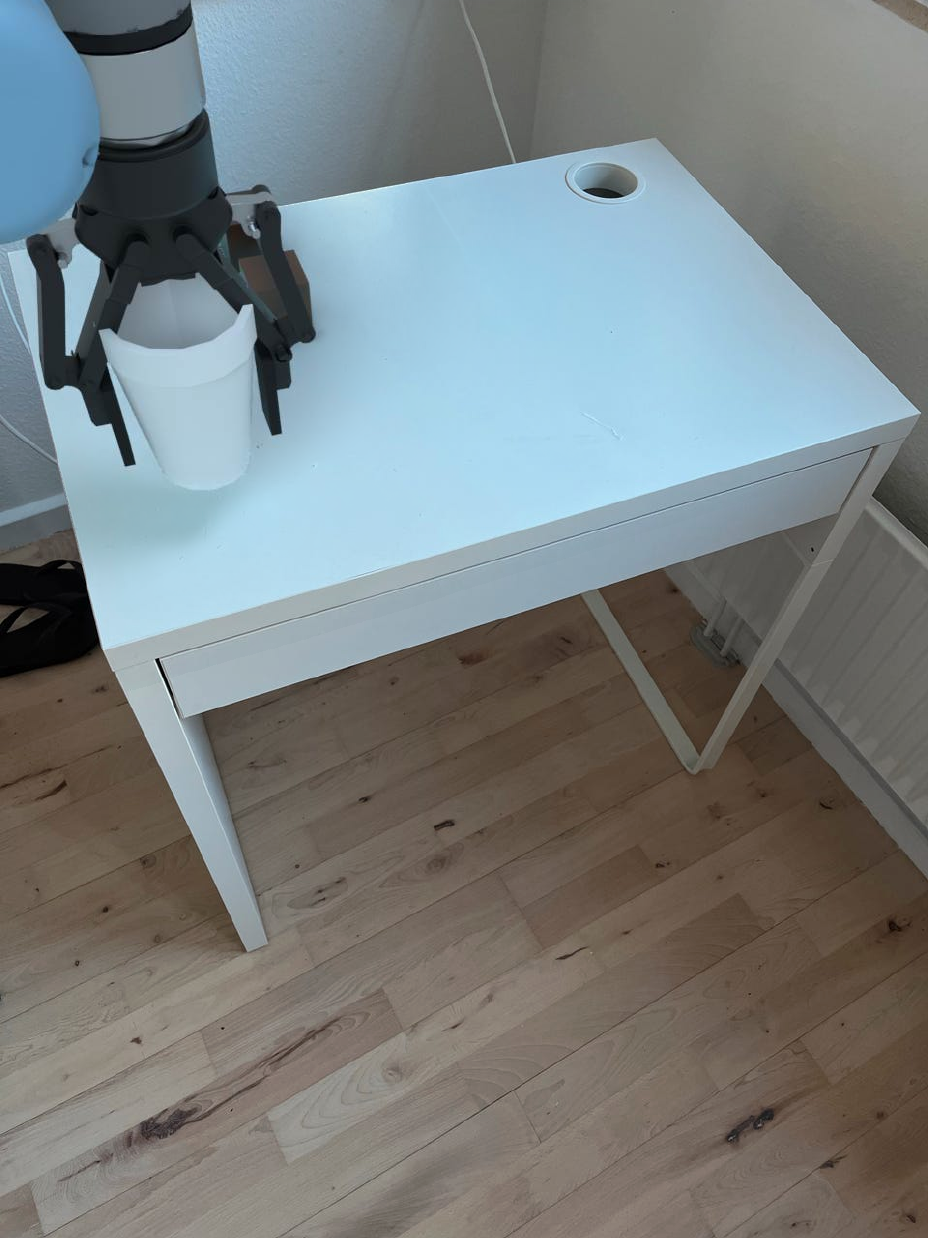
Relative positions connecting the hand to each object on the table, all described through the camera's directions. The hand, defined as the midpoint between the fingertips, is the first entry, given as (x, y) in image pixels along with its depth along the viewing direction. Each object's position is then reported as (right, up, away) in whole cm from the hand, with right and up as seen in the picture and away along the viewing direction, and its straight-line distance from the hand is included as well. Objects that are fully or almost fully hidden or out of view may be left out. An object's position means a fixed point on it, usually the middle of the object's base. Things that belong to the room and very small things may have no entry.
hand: (201, 436), depth 65 cm
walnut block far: (-2, +23, +25) cm, 34 cm away
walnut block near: (+2, +15, +20) cm, 25 cm away
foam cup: (0, -1, +2) cm, 2 cm away
